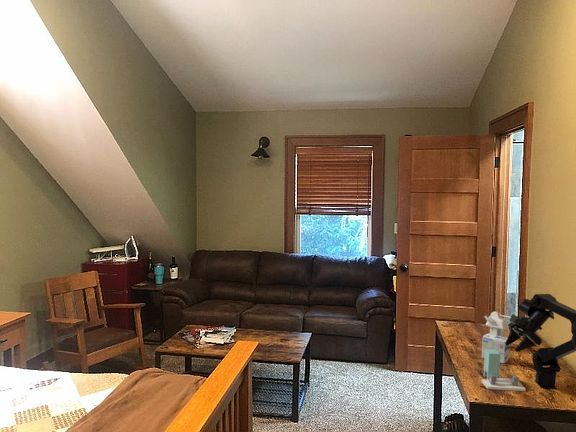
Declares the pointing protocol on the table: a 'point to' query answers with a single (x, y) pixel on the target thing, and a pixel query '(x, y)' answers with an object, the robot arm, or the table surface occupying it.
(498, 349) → the light bulb box
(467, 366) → the table surface
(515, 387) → the shaft bracket
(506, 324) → the white mech figurine
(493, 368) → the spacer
